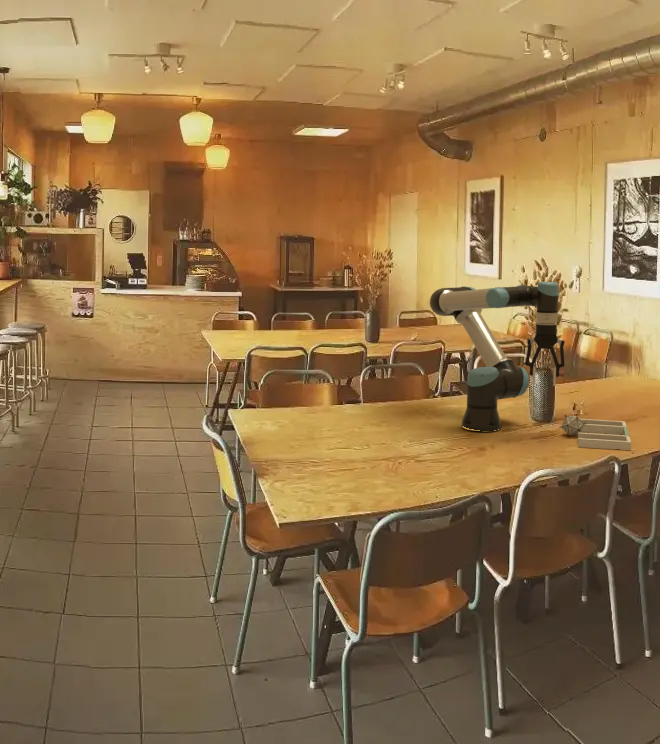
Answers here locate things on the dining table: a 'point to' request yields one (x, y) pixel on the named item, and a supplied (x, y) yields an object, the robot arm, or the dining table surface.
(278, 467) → the dining table surface
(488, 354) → the robot arm
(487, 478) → the dining table surface
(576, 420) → the game die
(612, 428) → the trap box
